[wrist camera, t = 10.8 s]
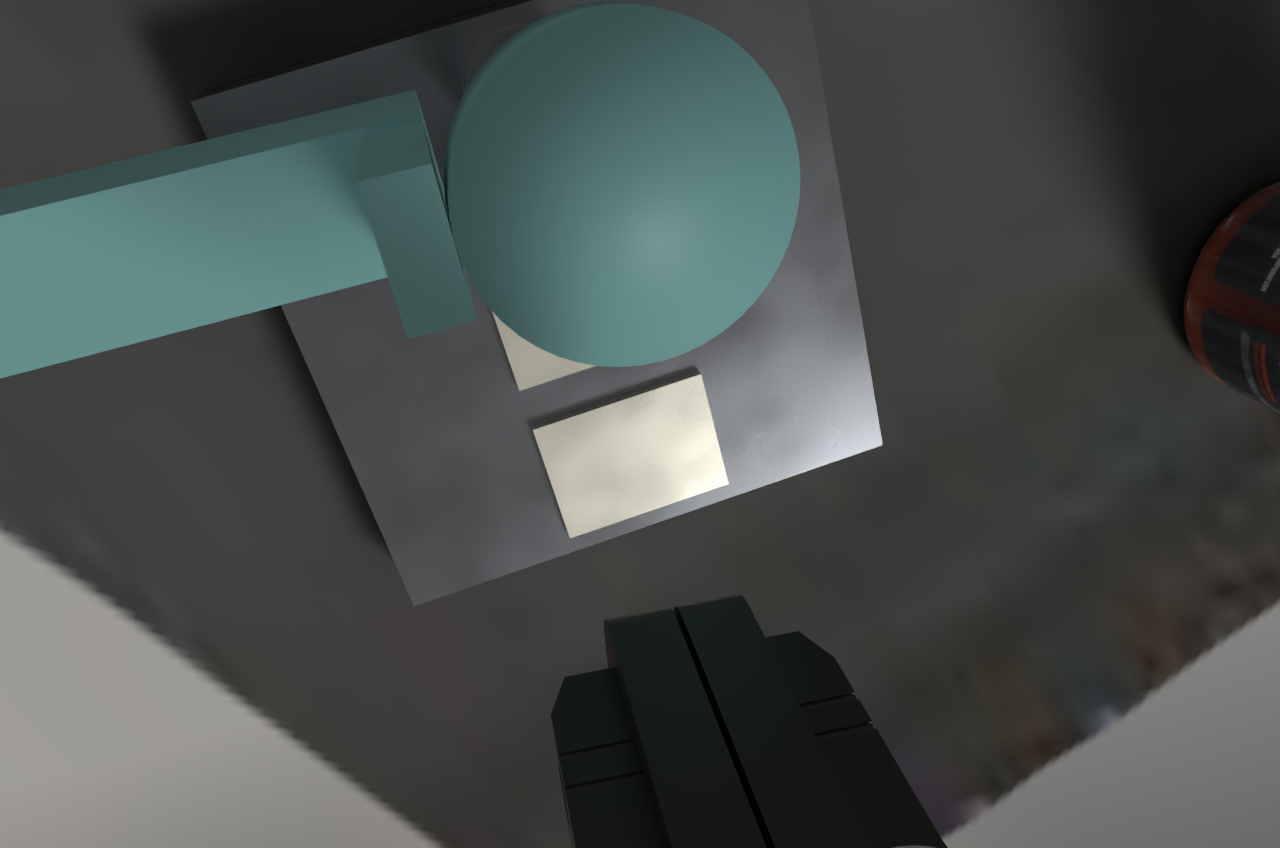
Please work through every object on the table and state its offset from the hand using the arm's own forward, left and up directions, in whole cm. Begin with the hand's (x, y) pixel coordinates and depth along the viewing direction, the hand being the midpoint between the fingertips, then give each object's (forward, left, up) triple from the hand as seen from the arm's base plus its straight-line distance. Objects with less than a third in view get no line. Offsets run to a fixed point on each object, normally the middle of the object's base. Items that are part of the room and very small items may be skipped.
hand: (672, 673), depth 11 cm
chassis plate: (-1, 0, -14) cm, 14 cm away
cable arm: (+4, -5, -8) cm, 10 cm away
